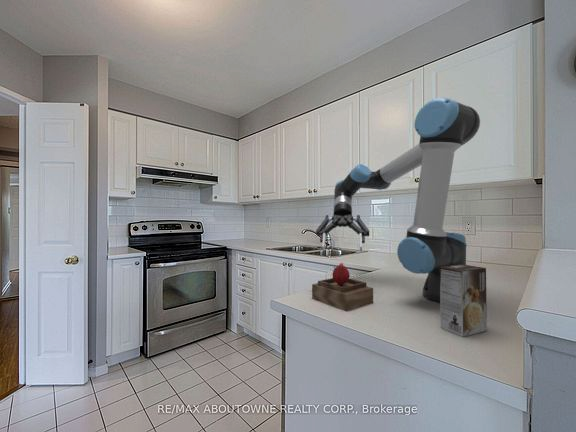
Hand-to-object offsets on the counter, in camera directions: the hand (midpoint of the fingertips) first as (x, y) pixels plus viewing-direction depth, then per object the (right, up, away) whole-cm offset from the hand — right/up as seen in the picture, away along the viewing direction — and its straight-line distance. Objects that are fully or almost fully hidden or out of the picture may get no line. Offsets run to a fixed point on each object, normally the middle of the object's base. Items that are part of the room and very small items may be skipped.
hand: (341, 248), depth 102 cm
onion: (-2, -12, -7) cm, 14 cm away
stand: (-1, -17, -7) cm, 18 cm away
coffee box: (+25, -17, -31) cm, 43 cm away
